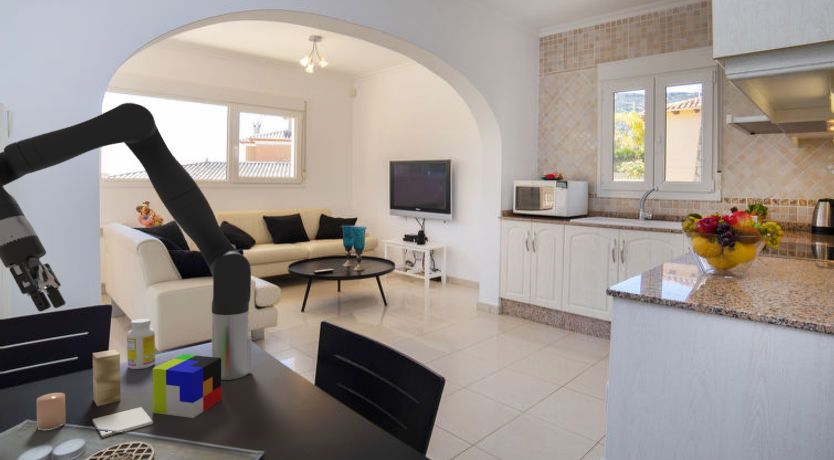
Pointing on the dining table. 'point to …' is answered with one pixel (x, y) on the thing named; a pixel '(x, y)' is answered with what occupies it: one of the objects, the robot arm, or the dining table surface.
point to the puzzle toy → (186, 385)
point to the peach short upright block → (50, 410)
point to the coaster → (123, 421)
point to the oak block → (106, 377)
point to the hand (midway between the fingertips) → (53, 307)
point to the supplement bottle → (141, 344)
